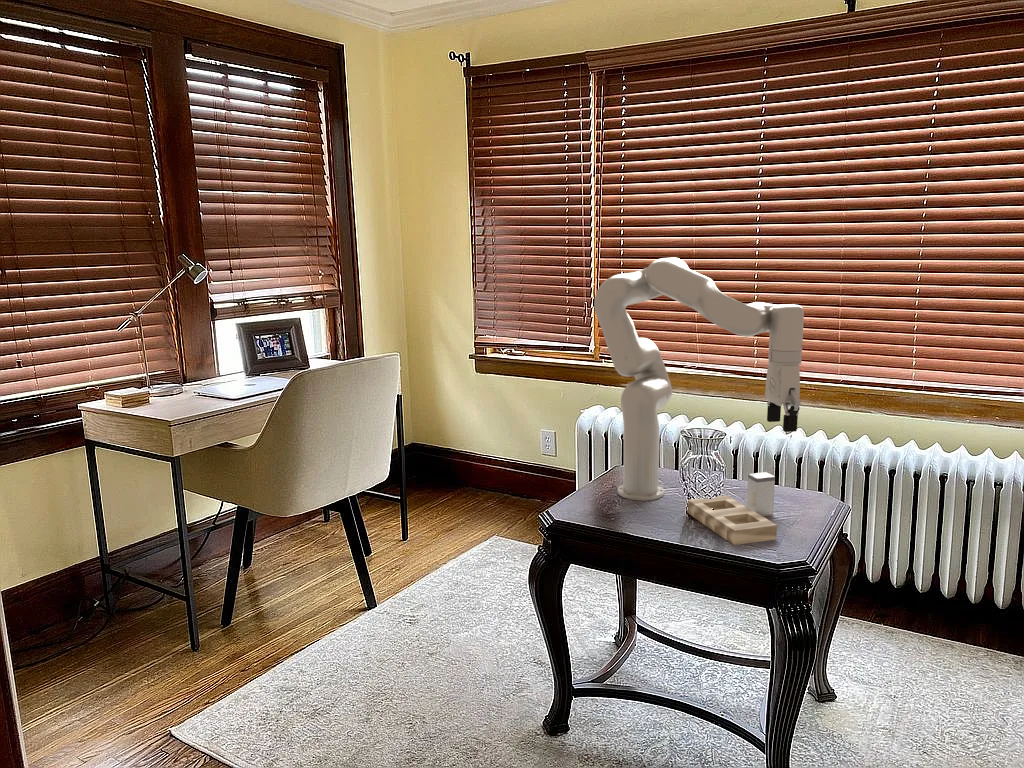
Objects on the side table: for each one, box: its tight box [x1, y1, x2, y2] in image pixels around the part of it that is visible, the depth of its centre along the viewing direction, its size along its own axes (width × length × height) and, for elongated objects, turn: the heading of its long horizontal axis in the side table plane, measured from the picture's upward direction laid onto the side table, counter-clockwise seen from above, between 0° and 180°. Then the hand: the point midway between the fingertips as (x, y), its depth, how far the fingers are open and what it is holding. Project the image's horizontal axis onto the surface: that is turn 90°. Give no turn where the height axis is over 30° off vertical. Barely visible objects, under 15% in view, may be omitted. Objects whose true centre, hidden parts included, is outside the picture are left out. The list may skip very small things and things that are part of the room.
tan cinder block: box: [687, 495, 778, 546], centre depth 193 cm, size 22×11×4 cm, turn 16°
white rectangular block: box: [746, 471, 776, 517], centre depth 201 cm, size 4×5×10 cm
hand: (781, 426), depth 194 cm, fingers open, 9 cm apart
